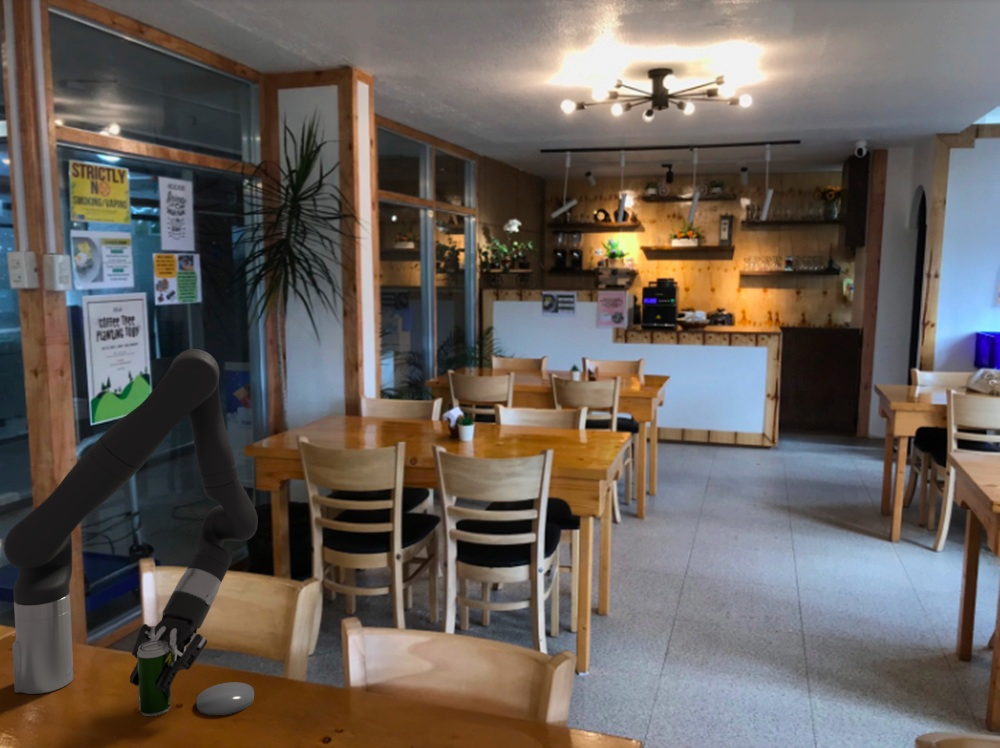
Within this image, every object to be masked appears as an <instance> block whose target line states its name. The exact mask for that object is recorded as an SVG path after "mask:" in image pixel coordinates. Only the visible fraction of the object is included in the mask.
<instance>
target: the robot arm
mask: <svg viewBox="0 0 1000 748" xmlns="http://www.w3.org/2000/svg"><path fill="white" fill-rule="evenodd" d="M219 381H220V366H219V364H218V362H217V361H216V359H215V358H214V357H213V356H212V355H211V354H210V353H208V352H207V351H205V350H201V349H199V348H198V349H197V348H196V349H195V348H192V349H190V348H189V349H187V350H184V351H182V352H180V353H179V354H178V355H176V357H175V358H174V359H173V360H172V362H171V364H170V366H169V368H168V370H167V372H166V373H165V374H164V376H163V377H162V379H161V380H160V381H159V382H158V384H157V385H156V386H155V387H154V389H153V390H152V391H151V392H150V394H148V396H147V397H146V398H145V400H143V401H142V402H141V403H140V404H139V405H138V406H136V407H135V408H134V409H133V410H131V411H130V412H129V413H127V414H125V415H124V416H123V417H122V418H120V419H118V420H117V422H115V423H114V424H113V425H112V426H111V427H109V428H108V429H107V431H105V432H104V433H103V434H102V435H101V436H100V437H99V438H98V439H97V440H96V441H95V442H94V443H93V444H92V445H91V446H90V448H88V450H87V451H86V452H85V453H84V454H83V456H81V458H80V459H79V460H78V461H77V462H76V463H75V464H74V465H73V467H72V468H71V469H70V471H68V473H67V474H66V475H65V477H64V478H63V479H62V480H61V482H60V483H59V484H58V485H57V487H56V488H54V489H55V490H54V491H53V492H52V493H50V495H48V496H47V498H45V500H43V501H42V502H41V503H40V504H39V505H38V506H36V508H35V509H33V510H32V511H31V512H30V513H29V514H28V515H26V516H25V517H24V518H22V520H20V521H19V522H17V523H16V524H15V525H13V526H12V527H11V528H10V530H9V531H8V533H7V534H6V537H5V539H4V546H3V550H4V551H3V552H4V555H5V557H6V560H7V562H9V563H10V564H11V566H14V567H16V568H19V571H18V575H17V579H16V581H15V584H14V586H13V608H14V611H13V612H14V624H15V640H14V641H13V643H12V646H11V649H12V667H13V668H12V669H13V684H14V686H13V687H14V693H23V694H28V695H38V694H39V695H40V694H45V693H50V692H54V691H57V690H60V689H62V688H63V687H65V686H67V685H69V684H70V683H72V681H73V680H74V662H73V661H74V657H73V638H72V637H73V636H72V635H73V633H72V616H71V615H72V614H71V595H70V594H71V593H70V584H71V578H72V574H73V537H72V533H73V531H74V530H75V529H76V528H77V527H78V525H80V524H81V522H82V521H83V520H84V519H85V518H86V517H87V516H89V515H90V513H92V512H93V511H94V510H96V509H97V508H98V507H100V506H101V505H102V504H104V502H106V501H107V500H109V499H110V498H111V497H112V496H113V495H114V494H115V493H116V492H118V491H119V490H120V489H121V488H123V486H124V485H126V484H127V483H128V481H130V480H131V478H133V477H134V475H135V474H136V473H137V472H138V471H140V469H141V468H142V467H143V466H144V464H146V462H147V461H148V460H149V459H150V458H151V456H152V455H154V453H155V452H156V451H157V449H158V448H159V447H160V446H161V444H162V443H163V442H164V441H165V440H166V438H167V437H168V435H169V434H170V433H171V432H172V430H173V429H175V427H176V426H177V425H178V424H179V423H180V422H181V421H182V420H184V419H185V417H187V416H188V417H189V420H190V426H191V431H192V437H193V444H194V452H195V458H196V463H197V469H198V472H199V476H200V479H201V483H202V488H203V491H204V494H205V496H206V497H207V498H208V499H209V500H212V501H215V502H217V503H218V504H219V505H216V506H214V507H213V508H212V509H211V510H210V511H208V513H207V514H206V515H205V517H204V520H203V522H202V526H201V530H200V534H199V539H198V542H197V543H198V544H197V546H196V547H197V548H196V551H195V553H194V555H193V557H192V559H191V561H190V563H189V565H188V567H186V570H185V571H184V573H183V575H182V576H181V578H179V581H178V582H177V584H176V586H175V587H174V589H173V591H172V593H171V595H170V597H169V599H168V601H167V603H166V605H165V607H164V608H163V611H162V617H161V619H160V621H159V622H158V623H157V624H156V625H148V624H146V623H143V624H142V625H141V627H140V630H139V633H138V635H137V638H136V641H135V643H134V646H133V649H132V651H131V655H132V656H133V657H134V658H136V659H137V653H138V651H139V650H138V648H139V646H140V645H142V644H144V643H146V642H149V641H154V640H164V641H167V642H168V646H169V649H170V651H169V661H168V667H166V668H165V669H164V671H163V673H162V675H161V677H160V679H159V681H158V683H157V685H156V688H157V689H158V690H160V691H163V692H165V691H166V690H167V689H168V688H169V687H170V686H171V687H172V683H173V681H174V680H175V677H176V675H177V674H178V673H179V672H180V671H181V670H185V671H188V670H190V669H191V667H192V665H194V663H195V662H196V660H197V658H198V657H199V655H200V654H201V652H203V650H204V648H205V646H206V645H207V644H208V640H207V639H206V637H205V636H203V635H201V634H200V633H197V632H198V629H200V628H202V625H203V624H204V622H205V619H206V618H207V615H208V614H209V611H210V609H211V608H212V605H213V603H214V601H215V600H216V597H217V594H218V593H219V590H220V587H221V584H222V582H223V580H224V578H225V576H226V573H228V570H229V568H230V566H231V564H232V555H231V553H230V552H229V550H227V549H225V548H223V547H224V543H225V542H226V541H233V542H247V541H248V540H250V539H251V538H253V537H254V535H255V534H256V532H257V530H258V526H259V525H258V524H259V523H258V522H259V520H258V519H259V518H258V514H257V511H256V508H255V506H254V503H253V502H252V500H251V499H250V497H249V495H248V493H247V491H246V489H245V488H244V486H243V484H242V483H241V480H240V475H239V472H238V467H237V464H236V460H235V455H234V452H233V449H232V445H231V441H230V438H229V435H228V431H227V428H226V424H225V420H224V419H225V418H224V415H223V409H222V404H221V394H220V382H219ZM187 645H188V646H187ZM129 683H130V684H132V685H134V686H136V687H138V661H137V663H136V664H135V666H134V668H133V670H132V672H131V673H130V676H129Z"/></svg>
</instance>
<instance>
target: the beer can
mask: <svg viewBox="0 0 1000 748" xmlns="http://www.w3.org/2000/svg"><path fill="white" fill-rule="evenodd" d="M138 650H139V651H138V653H137V658H136V660H137V662H138V686H137V687H138V706H139V710H138V711H139V712H140V713H142V714H143V715H145V716H144V717H146V716H155V717H157V716H156V715H159V716H161V714H162V715H164V714H165V712H166V713H168V712H169V710H170V709H171V706H172V704H173V703H172V685H171V686H170V687H169V688H168V689H167V690H166V691H165V692H163V691H160V690H158V689H157V688H156V685H157V683H158V681H159V679H160V677H161V675H162V673H163V671H164V669H165V668H166V667H168V661H169V651H170V649H169V646H168V642H167V641H164V640H154V641H149V642H146V643H144V644H142V645H140V646H139V648H138ZM163 713H164V714H163ZM142 714H141V715H142ZM143 715H142V716H143Z"/></svg>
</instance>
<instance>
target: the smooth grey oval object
mask: <svg viewBox="0 0 1000 748" xmlns="http://www.w3.org/2000/svg"><path fill="white" fill-rule="evenodd" d="M254 701H255V690H254V688H253V686H251V685H250V684H248V683H245V682H237V681H235V682H234V681H233V682H231V681H229V682H223V683H219V684H215V685H212V686H210V687H207V688H206V689H204V690H203V691H201V692H200V693H199V694H198V695H197V696H196V709H197V711H199V712H200V713H201V714H203V713H204V715H206V714H208V715H207V716H211V715H222V716H229V715H233V714H236V713H239V712H241V711H244V710H245V709H247V708H249V706H251V705H252V704H253V702H254ZM232 713H233V714H232ZM228 714H229V715H228Z"/></svg>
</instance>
